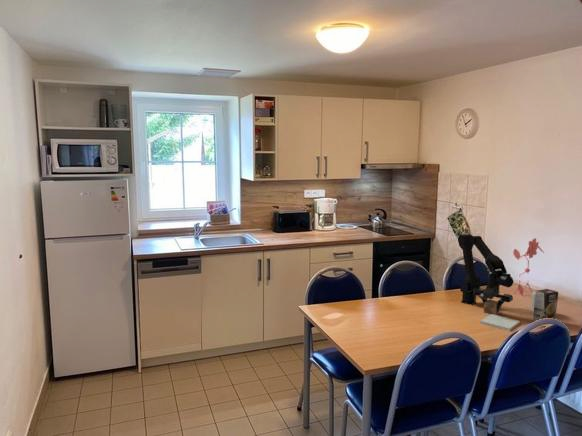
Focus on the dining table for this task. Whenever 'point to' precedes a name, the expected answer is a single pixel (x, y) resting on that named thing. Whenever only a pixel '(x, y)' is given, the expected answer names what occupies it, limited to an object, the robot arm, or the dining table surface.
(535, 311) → the coffee box
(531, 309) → the small box
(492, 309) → the cube
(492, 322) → the plate
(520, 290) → the red branching piece
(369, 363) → the dining table surface
